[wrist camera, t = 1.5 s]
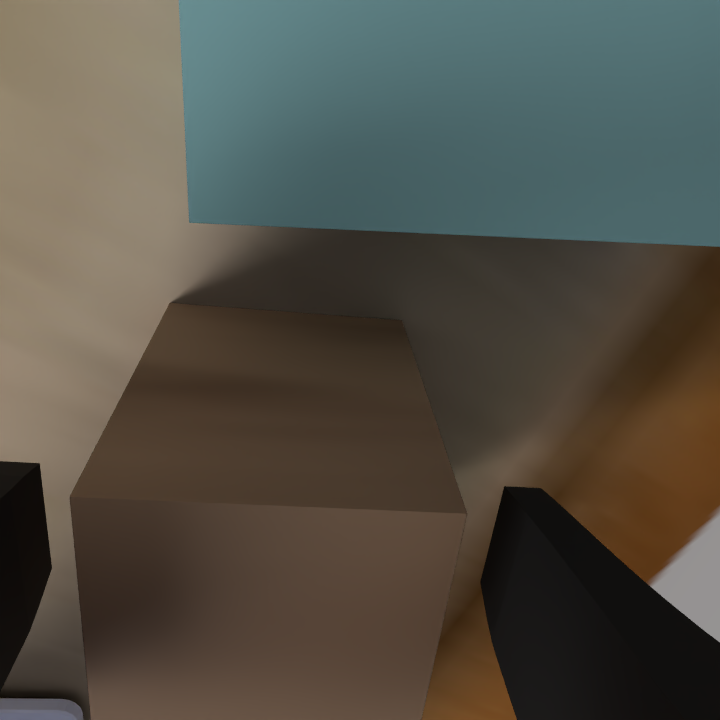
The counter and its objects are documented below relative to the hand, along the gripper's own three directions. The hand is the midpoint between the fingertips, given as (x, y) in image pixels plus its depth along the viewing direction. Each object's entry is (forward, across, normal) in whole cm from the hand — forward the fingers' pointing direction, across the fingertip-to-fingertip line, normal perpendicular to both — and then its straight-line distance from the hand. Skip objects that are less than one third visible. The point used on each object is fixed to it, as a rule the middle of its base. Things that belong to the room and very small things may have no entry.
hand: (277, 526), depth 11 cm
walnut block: (+4, 0, 0) cm, 4 cm away
